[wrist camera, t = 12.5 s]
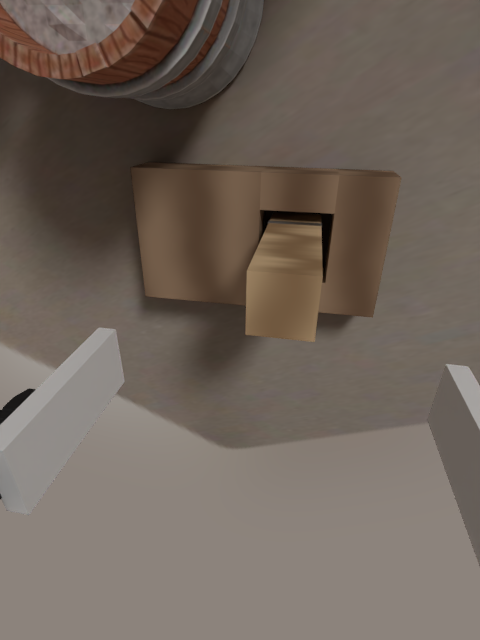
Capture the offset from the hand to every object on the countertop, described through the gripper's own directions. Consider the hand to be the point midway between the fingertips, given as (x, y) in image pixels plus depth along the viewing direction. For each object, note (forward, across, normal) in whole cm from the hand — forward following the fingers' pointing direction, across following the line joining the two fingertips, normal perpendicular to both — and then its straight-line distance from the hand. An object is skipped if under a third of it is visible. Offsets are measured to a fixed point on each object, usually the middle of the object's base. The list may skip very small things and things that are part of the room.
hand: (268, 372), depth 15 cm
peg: (+20, 0, 0) cm, 20 cm away
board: (+20, -3, 0) cm, 21 cm away
